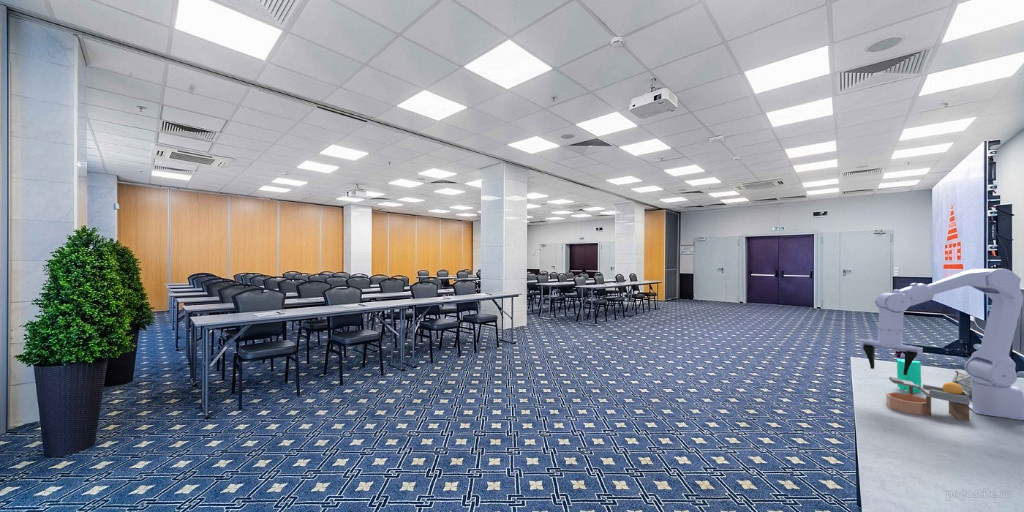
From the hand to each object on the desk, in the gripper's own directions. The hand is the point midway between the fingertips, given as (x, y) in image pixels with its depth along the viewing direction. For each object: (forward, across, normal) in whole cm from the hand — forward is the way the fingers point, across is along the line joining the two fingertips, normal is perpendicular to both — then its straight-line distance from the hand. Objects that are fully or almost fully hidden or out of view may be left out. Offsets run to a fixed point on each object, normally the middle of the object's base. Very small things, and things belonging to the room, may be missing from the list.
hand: (888, 371), depth 123 cm
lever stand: (+10, +11, +5) cm, 16 cm away
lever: (+5, +8, +4) cm, 10 cm away
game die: (+9, +17, +31) cm, 36 cm away
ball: (+2, +14, +1) cm, 14 cm away
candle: (+10, +3, +24) cm, 27 cm away
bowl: (+10, +5, -1) cm, 11 cm away
